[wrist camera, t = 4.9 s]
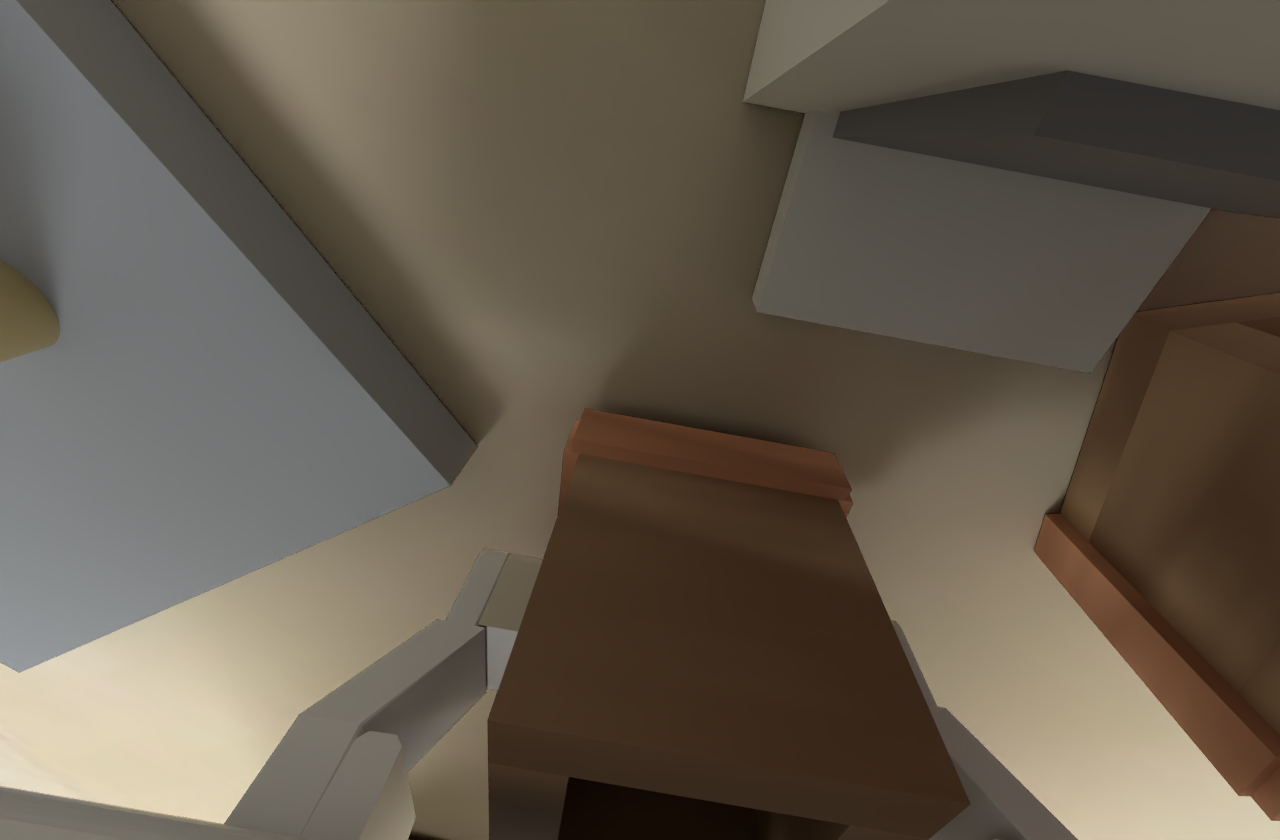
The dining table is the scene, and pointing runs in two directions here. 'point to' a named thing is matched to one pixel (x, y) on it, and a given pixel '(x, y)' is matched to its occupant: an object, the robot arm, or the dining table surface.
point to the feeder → (1008, 161)
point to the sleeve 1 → (709, 657)
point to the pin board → (168, 351)
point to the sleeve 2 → (1188, 526)
